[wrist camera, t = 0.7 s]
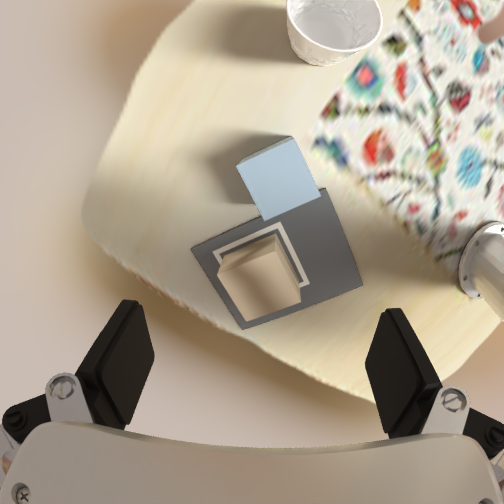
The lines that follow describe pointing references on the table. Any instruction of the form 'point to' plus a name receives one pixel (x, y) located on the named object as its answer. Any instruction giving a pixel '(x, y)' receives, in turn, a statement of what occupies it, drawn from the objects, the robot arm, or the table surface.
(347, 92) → the table surface
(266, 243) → the base block
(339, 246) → the mat
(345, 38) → the white cup
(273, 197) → the blue block
